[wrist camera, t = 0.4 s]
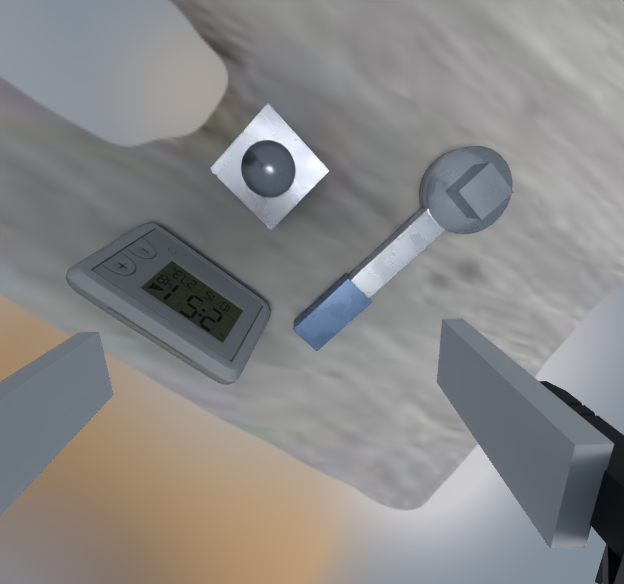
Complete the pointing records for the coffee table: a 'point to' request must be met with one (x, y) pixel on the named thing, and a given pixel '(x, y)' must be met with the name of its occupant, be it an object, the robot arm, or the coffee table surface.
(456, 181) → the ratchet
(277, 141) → the socket
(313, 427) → the coffee table surface
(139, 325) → the digital clock
